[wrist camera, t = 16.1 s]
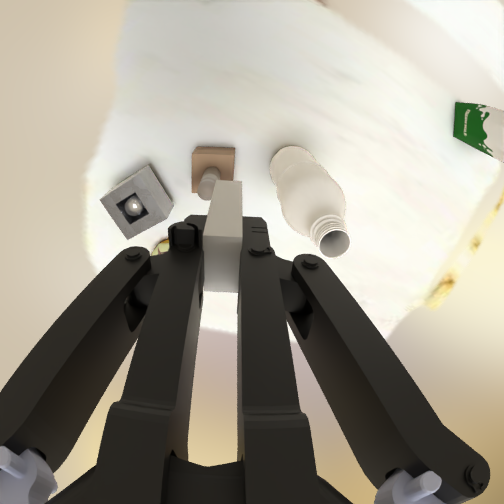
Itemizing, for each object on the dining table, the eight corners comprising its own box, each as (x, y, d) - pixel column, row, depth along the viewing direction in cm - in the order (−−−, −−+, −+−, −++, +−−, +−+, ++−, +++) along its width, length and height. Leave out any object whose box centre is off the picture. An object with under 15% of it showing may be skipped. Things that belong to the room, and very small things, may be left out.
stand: (196, 146, 43) (182, 167, 33) (235, 148, 43) (232, 168, 33) (196, 182, 46) (183, 212, 36) (232, 183, 47) (230, 214, 36)
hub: (127, 175, 45) (113, 189, 39) (160, 175, 45) (150, 189, 40) (130, 207, 48) (117, 224, 43) (162, 208, 48) (152, 225, 43)
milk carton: (478, 145, 42) (547, 182, 25) (448, 140, 42) (523, 178, 25) (481, 105, 37) (555, 131, 20) (451, 96, 37) (531, 119, 20)
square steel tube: (136, 225, 48) (127, 239, 44) (111, 188, 44) (99, 199, 40) (173, 205, 46) (167, 218, 42) (148, 164, 42) (138, 174, 38)
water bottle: (260, 155, 44) (278, 230, 23) (300, 135, 43) (358, 190, 21) (281, 192, 48) (312, 289, 27) (319, 173, 46) (381, 256, 25)
